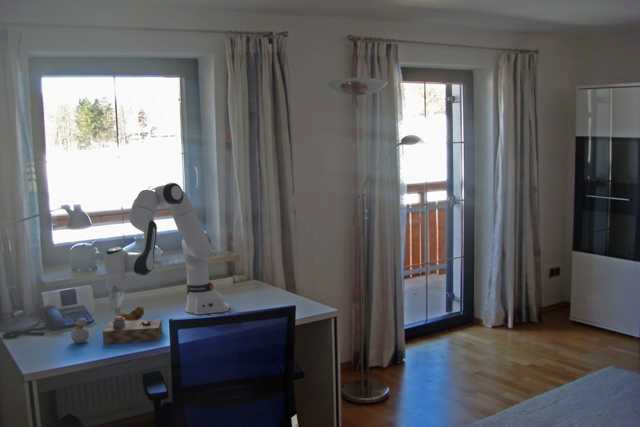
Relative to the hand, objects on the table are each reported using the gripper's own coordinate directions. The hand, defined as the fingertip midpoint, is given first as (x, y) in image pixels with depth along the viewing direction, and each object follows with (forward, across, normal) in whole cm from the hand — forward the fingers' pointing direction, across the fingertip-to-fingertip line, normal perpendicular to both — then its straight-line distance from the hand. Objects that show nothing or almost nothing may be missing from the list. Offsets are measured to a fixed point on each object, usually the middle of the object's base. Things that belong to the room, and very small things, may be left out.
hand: (118, 314), depth 297 cm
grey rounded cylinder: (+7, 0, 0) cm, 7 cm away
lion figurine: (+12, +20, -2) cm, 23 cm away
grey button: (+10, 0, -12) cm, 16 cm away
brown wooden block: (+11, 0, -6) cm, 13 cm away
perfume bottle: (+12, -2, +16) cm, 20 cm away
